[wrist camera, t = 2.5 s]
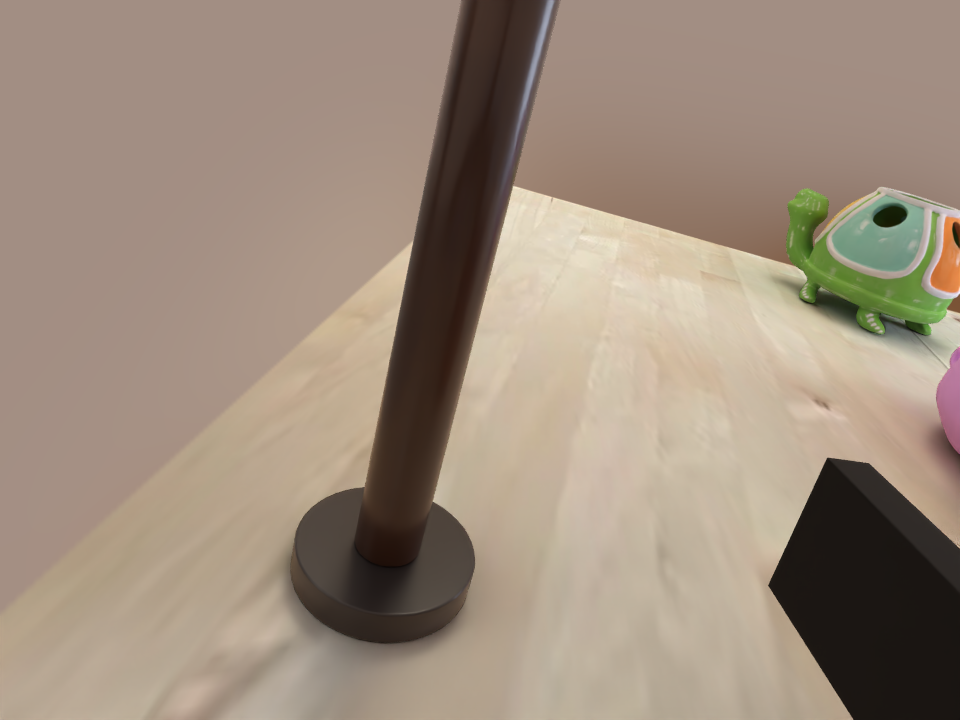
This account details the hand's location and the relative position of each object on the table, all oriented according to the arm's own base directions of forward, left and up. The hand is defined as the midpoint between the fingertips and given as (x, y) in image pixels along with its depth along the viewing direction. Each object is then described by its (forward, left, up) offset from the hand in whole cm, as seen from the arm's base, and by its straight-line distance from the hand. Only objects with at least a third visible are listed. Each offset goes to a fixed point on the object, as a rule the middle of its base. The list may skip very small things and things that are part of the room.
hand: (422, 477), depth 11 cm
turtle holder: (+55, +42, -11) cm, 71 cm away
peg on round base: (+2, +8, -11) cm, 14 cm away
